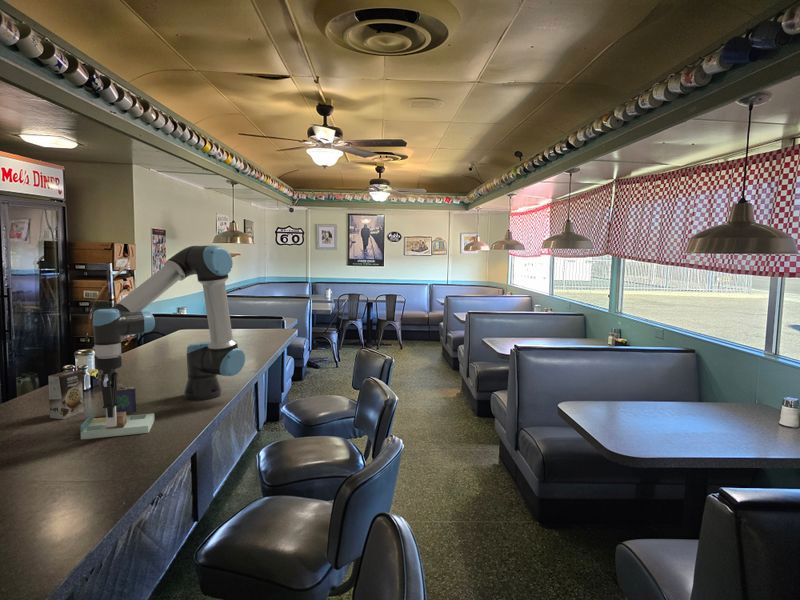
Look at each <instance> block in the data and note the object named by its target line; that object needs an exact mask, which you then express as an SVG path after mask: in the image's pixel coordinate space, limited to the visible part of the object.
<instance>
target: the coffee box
mask: <svg viewBox="0 0 800 600" xmlns="http://www.w3.org/2000/svg"><path fill="white" fill-rule="evenodd" d="M82 372H83V371H80V370H67V371H62V372H59V373H55V374H50V375H48V380H47V381H48V400H49V401H48V402H49V418H50V419H58V420H65V419H68V418H71V417H73V416H77V415H79V414H81V413H84V394H83V393H84V392H83V373H82Z"/></svg>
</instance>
